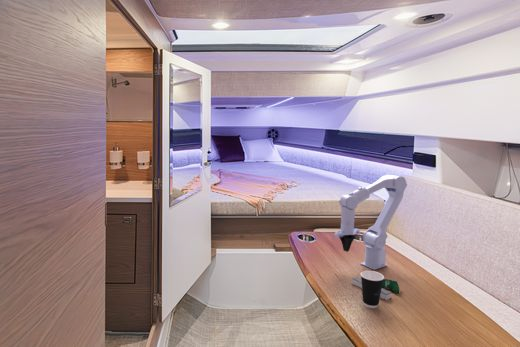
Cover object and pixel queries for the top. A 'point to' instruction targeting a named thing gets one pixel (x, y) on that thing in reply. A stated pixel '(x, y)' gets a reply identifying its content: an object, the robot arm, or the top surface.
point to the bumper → (384, 293)
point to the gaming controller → (391, 285)
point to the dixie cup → (371, 288)
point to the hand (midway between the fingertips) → (346, 250)
